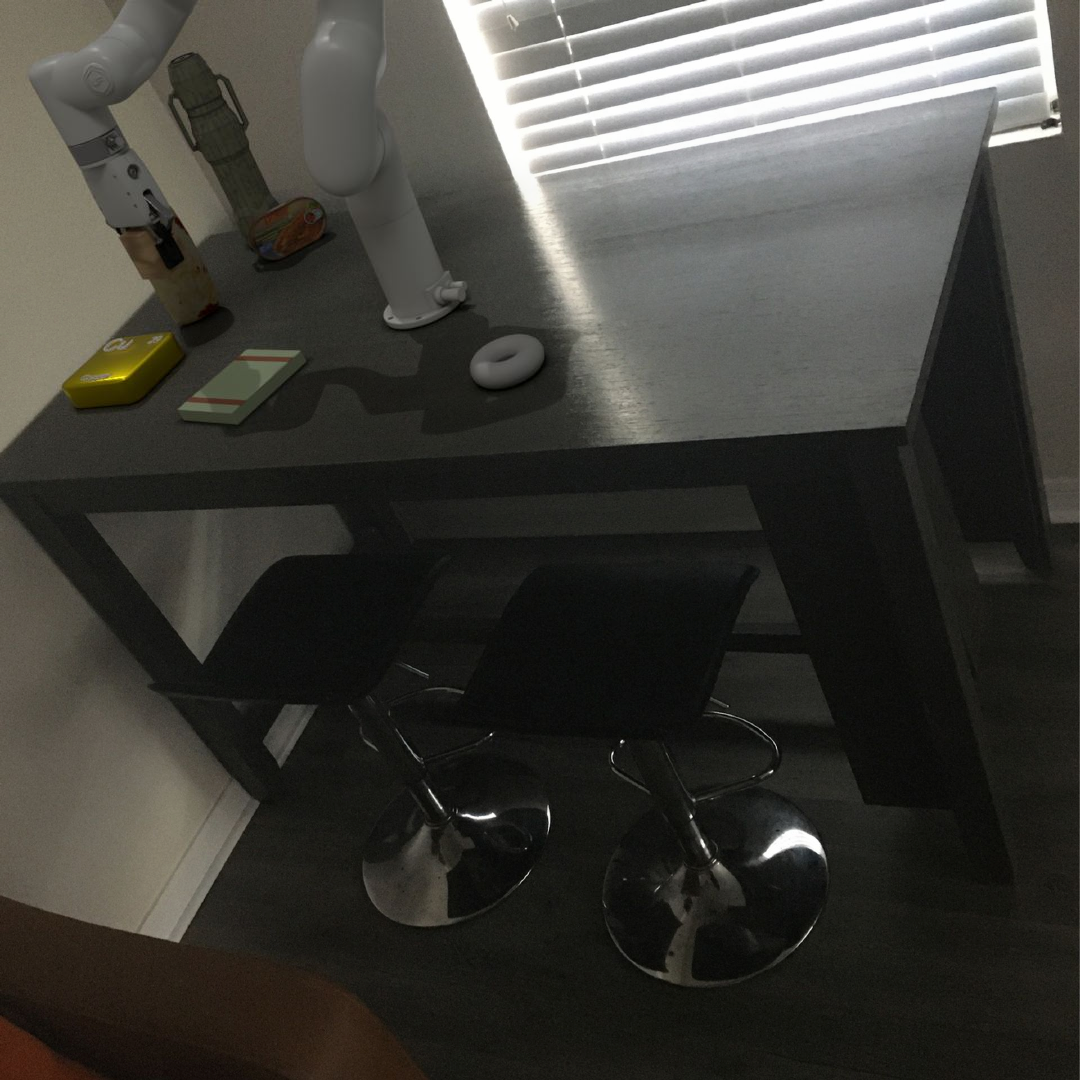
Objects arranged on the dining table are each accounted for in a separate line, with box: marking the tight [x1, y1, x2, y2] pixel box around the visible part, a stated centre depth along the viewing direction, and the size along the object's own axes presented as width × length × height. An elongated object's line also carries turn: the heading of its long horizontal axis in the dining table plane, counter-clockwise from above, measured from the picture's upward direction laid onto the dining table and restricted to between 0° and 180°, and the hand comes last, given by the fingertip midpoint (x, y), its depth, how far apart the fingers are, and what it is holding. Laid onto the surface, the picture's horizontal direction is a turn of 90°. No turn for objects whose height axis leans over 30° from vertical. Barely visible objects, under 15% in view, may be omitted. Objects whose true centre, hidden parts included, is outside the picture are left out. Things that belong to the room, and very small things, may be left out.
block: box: [118, 217, 191, 281], centre depth 159 cm, size 5×6×7 cm
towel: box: [176, 348, 307, 426], centre depth 160 cm, size 12×16×2 cm
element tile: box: [61, 331, 185, 409], centre depth 175 cm, size 15×15×5 cm
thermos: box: [166, 51, 280, 249], centre depth 201 cm, size 9×12×35 cm
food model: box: [149, 204, 220, 326], centre depth 184 cm, size 10×7×20 cm
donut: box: [469, 333, 545, 390], centre depth 139 cm, size 10×3×10 cm
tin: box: [249, 195, 328, 261], centre depth 200 cm, size 15×3×8 cm, turn 120°
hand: (163, 263), depth 161 cm, fingers closed on block, 5 cm apart
